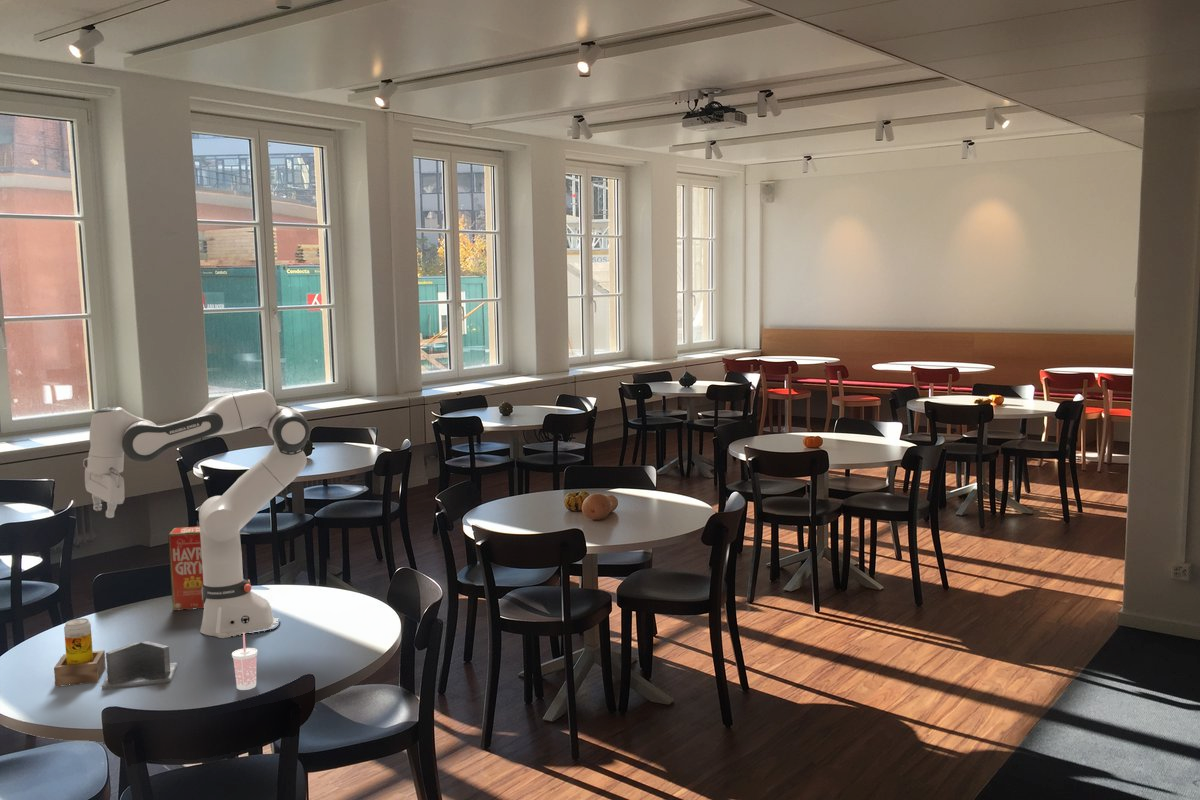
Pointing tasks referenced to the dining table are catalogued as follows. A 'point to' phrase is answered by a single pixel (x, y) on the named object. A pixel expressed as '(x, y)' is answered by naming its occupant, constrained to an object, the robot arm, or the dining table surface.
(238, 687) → the beverage cup
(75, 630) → the beer can
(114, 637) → the dining table surface
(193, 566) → the food packaging
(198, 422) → the robot arm
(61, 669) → the walnut sleeve
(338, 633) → the dining table surface
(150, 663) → the V-block
